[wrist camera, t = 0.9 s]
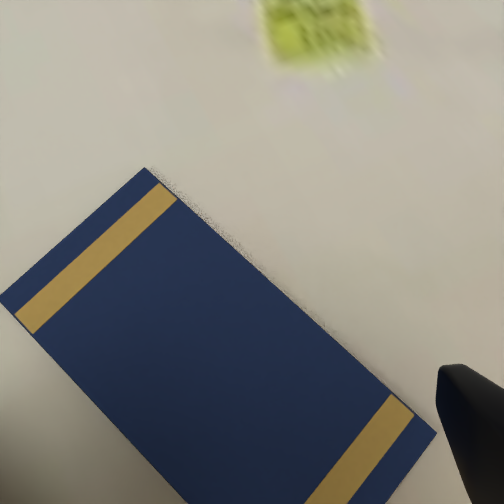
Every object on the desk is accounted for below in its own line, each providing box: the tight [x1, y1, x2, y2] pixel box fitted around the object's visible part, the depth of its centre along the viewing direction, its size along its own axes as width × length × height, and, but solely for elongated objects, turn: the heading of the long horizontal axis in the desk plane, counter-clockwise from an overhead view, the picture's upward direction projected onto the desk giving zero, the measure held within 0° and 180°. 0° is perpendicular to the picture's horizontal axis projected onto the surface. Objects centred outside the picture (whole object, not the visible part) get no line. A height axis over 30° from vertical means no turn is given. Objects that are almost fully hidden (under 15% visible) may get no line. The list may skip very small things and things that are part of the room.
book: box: [0, 167, 437, 504], centre depth 21 cm, size 10×20×1 cm, turn 47°
